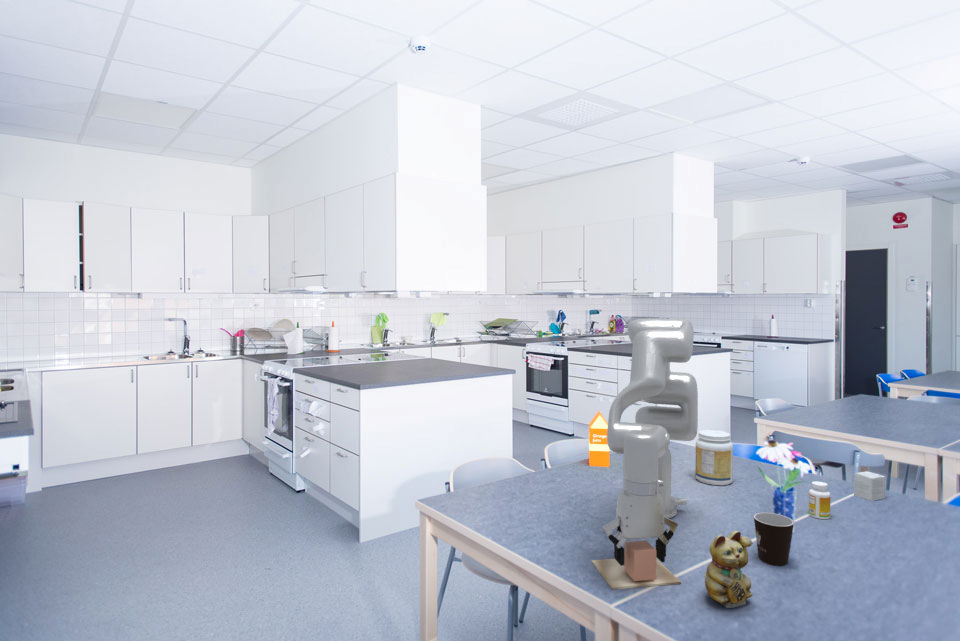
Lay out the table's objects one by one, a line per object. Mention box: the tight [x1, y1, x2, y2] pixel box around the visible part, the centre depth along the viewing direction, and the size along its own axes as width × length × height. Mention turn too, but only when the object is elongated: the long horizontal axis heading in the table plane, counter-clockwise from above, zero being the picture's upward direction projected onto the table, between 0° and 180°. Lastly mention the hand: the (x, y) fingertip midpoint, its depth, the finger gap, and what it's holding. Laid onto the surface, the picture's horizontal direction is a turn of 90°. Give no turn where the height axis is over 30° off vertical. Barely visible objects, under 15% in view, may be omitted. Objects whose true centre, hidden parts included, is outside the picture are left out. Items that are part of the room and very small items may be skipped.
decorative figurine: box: [704, 530, 753, 609], centre depth 118 cm, size 10×8×15 cm
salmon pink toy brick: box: [624, 540, 657, 581], centre depth 126 cm, size 5×5×7 cm
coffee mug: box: [753, 512, 795, 567], centre depth 137 cm, size 12×9×10 cm
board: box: [591, 557, 682, 590], centre depth 130 cm, size 16×13×1 cm
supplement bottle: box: [808, 480, 832, 520], centre depth 163 cm, size 5×5×10 cm
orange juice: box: [588, 410, 611, 468], centre depth 218 cm, size 8×9×20 cm
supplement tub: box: [695, 429, 734, 486], centre depth 196 cm, size 12×12×17 cm
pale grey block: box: [853, 470, 886, 502], centre depth 180 cm, size 6×6×7 cm
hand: (640, 561), depth 126 cm, fingers open, 9 cm apart
